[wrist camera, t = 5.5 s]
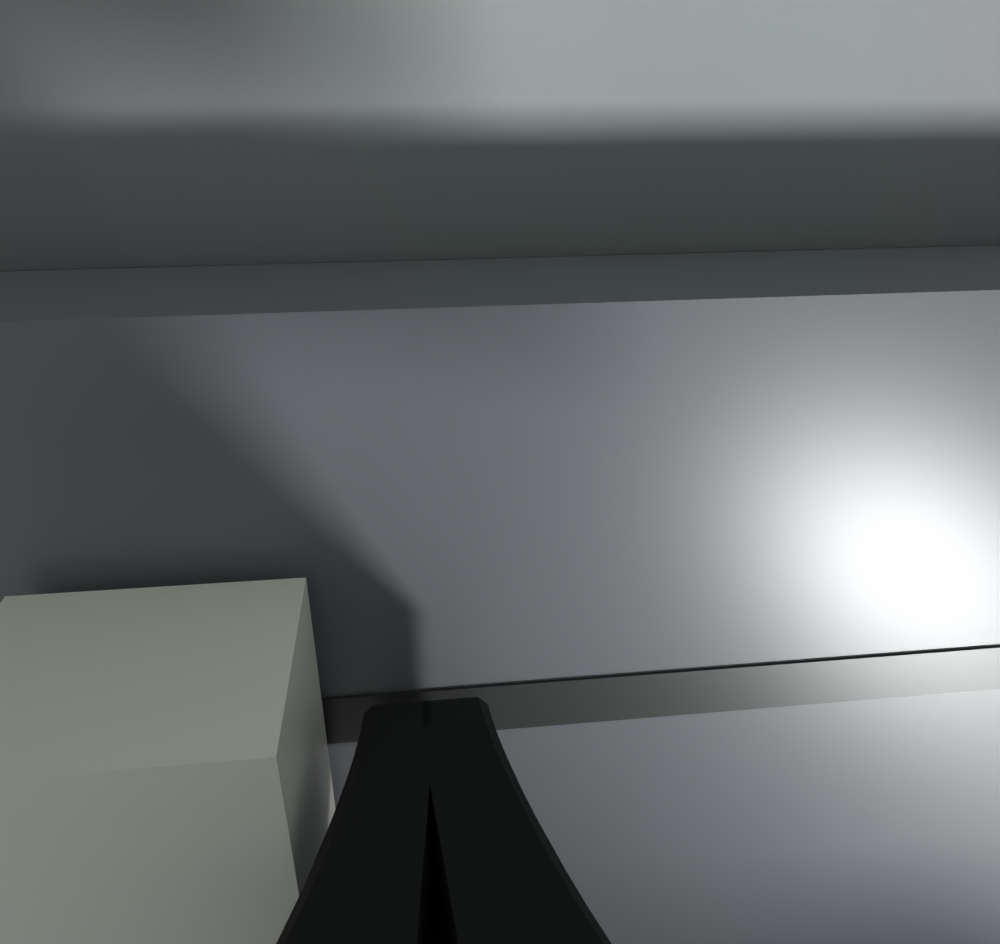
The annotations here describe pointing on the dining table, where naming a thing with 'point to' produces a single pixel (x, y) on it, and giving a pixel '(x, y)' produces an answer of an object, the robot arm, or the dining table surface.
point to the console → (584, 541)
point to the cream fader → (159, 763)
